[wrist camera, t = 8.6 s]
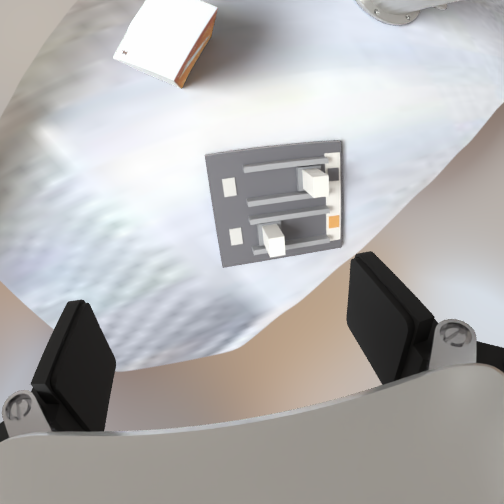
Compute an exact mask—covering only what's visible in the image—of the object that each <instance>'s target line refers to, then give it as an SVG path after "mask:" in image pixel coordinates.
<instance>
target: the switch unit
mask: <svg viewBox="0 0 504 504" xmlns="http://www.w3.org/2000/svg"><path fill="white" fill-rule="evenodd" d="M205 159H206V166H207V173H208V180H209V186H210V193H211V199H212V206H213V212H214V218H215V224H216V231H217V237H218V243H219V249H220V255H221V261H222V266H223V268H224V267H230V266H236V265H242V264H248V263H254V262H260V261H265V260H271V259H277V258H283V257H289V256H295V255H300V254H306V253H312V252H318V251H323V250H329V249H335V248H341V247H342V159H341V141H339V140H334V141H320V142H307V143H296V144H285V145H276V146H266V147H258V148H250V149H242V150H235V151H228V152H221V153H214V154H208V155H205ZM316 164H319V165H321V171H322V172H324V173H325V174H327V175H329V196H326V197H318V198H313V197H312V196H311V195H310V194H309V193H308V192H306V191H298V190H297V177H296V167H297V166H306V165H316ZM280 220H281V230H282V233H283V235H284V239H285V254H286V255H282V256H276V257H271V258H270V256H269V254H268V252H267V250H266V247H265V245H263V246H259V242H258V233H257V224H260V223H267V222H273V221H280Z"/></svg>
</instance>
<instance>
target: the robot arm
mask: <svg viewBox="0 0 504 504" xmlns="http://www.w3.org/2000/svg"><path fill="white" fill-rule="evenodd" d="M355 1H356V2H357V4H358V5H359V6H360V7H361V8H362V9H363V10H364V11H365V12H366V13H368V14H369V15H370V16H372V17H373V18H375V19H376V20H378V21H381V22H383V23H386V24H390V25H403V24H407V23H410V22H411V21H413V20H414V19H415V18H416V17H417V16H418V15H419V13H420V10H421V9H425V8H429V7H435V8H438V9H441V10H445V9H446V8H447V3H452V2H457V1H462V0H355ZM374 12H375V13H374ZM347 324H348V327H349V329H350V330H351V332H352V334H353V335H354V337H355V339H356V340H357V342H358V344H359V345H360V347H361V349H362V350H363V352H364V354H365V355H366V357H367V359H368V361H369V362H370V364H371V366H372V367H373V369H374V371H375V372H376V374H377V376H378V378H379V379H380V381H381V383H382V385H381V386H378V387H375V388H371V389H368V390H365V391H362V392H358V393H355V394H351V395H348V396H345V397H341V398H338V399H334V400H330V401H326V402H322V403H319V404H315V405H310V406H307V407H302V408H298V409H293V410H289V411H284V412H279V413H275V414H270V415H264V416H259V417H254V418H248V419H242V420H236V421H229V422H223V423H215V424H208V425H199V426H192V427H191V426H190V427H181V428H170V429H157V430H140V431H105V432H104V429H105V423H106V417H107V411H108V404H109V399H110V394H111V388H112V383H113V378H114V373H115V368H116V360H115V357H114V355H113V353H112V351H111V349H110V347H109V345H108V343H107V341H106V339H105V337H104V334H103V332H102V330H101V328H100V326H99V324H98V322H97V319H96V317H95V315H94V313H93V310H92V308H91V306H90V304H89V303H85V301H84V300H76V301H69V302H68V303H67V304H66V306H65V308H64V310H63V312H62V314H61V316H60V318H59V320H58V322H57V325H56V327H55V329H54V331H53V333H52V335H51V337H50V339H49V342H48V344H47V346H46V348H45V351H44V353H43V355H42V357H41V360H40V362H39V365H38V367H37V369H36V372H35V374H34V377H33V379H32V382H31V385H32V386H33V389H32V391H31V392H30V391H27V390H21V391H17V392H15V393H13V394H12V395H11V396H9V398H8V399H7V400H6V401H5V403H4V405H3V408H2V417H3V420H4V421H3V422H2V423H0V504H504V348H502V347H498V346H494V345H490V344H486V343H482V342H478V341H476V334H475V332H474V330H473V329H472V327H470V326H469V325H468V324H467V323H465V322H463V321H460V320H456V319H448V320H444V321H442V322H440V323H438V322H437V321H436V320H435V319H434V316H433V315H432V313H431V312H430V311H429V310H428V309H427V308H426V307H425V306H424V305H423V304H422V303H421V301H420V300H419V299H418V298H417V297H416V296H415V295H414V294H413V293H412V292H411V291H410V290H409V289H408V288H407V287H406V286H405V284H404V283H403V282H402V281H401V280H400V279H399V278H398V277H397V276H396V275H395V274H394V273H393V272H392V271H391V270H390V269H389V268H388V267H387V266H386V265H385V264H384V263H383V262H382V261H381V260H380V259H379V258H378V257H377V256H376V255H375V254H374V253H373V252H371V251H370V252H365V253H359V254H356V255H355V258H354V259H352V260H351V266H350V281H349V295H348V307H347Z"/></svg>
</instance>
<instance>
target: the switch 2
mask: <svg viewBox="0 0 504 504" xmlns="http://www.w3.org/2000/svg"><path fill="white" fill-rule="evenodd" d="M296 177H297V190H298V191H306V192H308V193H309V194H310V195H311V196H312V197H313V198H318V197H326V196H329V175H327V174H325V173H324V172H322V171H321V165H319V164H316V165H306V166H297V167H296Z"/></svg>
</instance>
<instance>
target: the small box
mask: <svg viewBox="0 0 504 504" xmlns="http://www.w3.org/2000/svg"><path fill="white" fill-rule="evenodd" d="M217 10H218V7H216V6H214V5H211V4H209V3H207V2H204V1H202V0H146V1H145V2H144V4H143V5H142V7H141V8H140V10H139V11H138V13H137V14H136V16H135V17H134V19H133V20H132V22H131V24H130V26H129V28H128V30H127V32H126V34H125V36H124V37H123V39H122V41H121V43H120V45H119V47H118V49H117V51H116V52H115V54H114V57H113V58H114V59H115V60H117V61H119V62H121V63H123V64H125V65H127V66H129V67H131V68H133V69H135V70H137V71H139V72H142V73H144V74H147V75H149V76H152V77H154V78H157V79H159V80H161V81H164V82H166V83H169V84H171V85H173V86H176V87H178V88H181V89H182V87H183V85H184V83H185V81H186V79H187V77H188V75H189V73H190V71H191V70H192V68H193V66H194V64H195V62H196V61H197V59H198V57H199V56H200V54H201V52H202V51H203V49H204V47H205V46H206V44H207V42H208V41H209V39H210V38H211V36H212V31H213V26H214V22H215V18H216V14H217Z"/></svg>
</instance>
